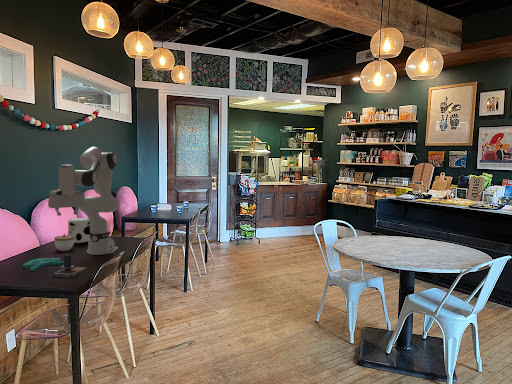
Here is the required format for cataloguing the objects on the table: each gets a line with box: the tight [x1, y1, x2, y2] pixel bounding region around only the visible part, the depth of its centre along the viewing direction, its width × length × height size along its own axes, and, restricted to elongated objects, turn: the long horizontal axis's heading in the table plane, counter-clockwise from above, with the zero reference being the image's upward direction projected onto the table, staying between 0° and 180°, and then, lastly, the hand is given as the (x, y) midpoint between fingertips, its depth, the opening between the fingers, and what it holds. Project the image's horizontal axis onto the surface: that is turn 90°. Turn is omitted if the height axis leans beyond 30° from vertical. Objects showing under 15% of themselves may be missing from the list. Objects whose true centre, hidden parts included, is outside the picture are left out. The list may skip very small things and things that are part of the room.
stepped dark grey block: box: [59, 253, 76, 270], centre depth 224 cm, size 4×7×8 cm, turn 83°
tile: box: [70, 266, 87, 272], centre depth 220 cm, size 6×6×1 cm
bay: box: [52, 268, 82, 279], centre depth 209 cm, size 9×11×2 cm
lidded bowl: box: [53, 233, 75, 252], centre depth 267 cm, size 13×13×11 cm
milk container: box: [67, 217, 90, 245], centre depth 290 cm, size 17×17×18 cm
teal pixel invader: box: [22, 257, 64, 272], centre depth 229 cm, size 20×2×20 cm
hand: (67, 214), depth 224 cm, fingers open, 8 cm apart
